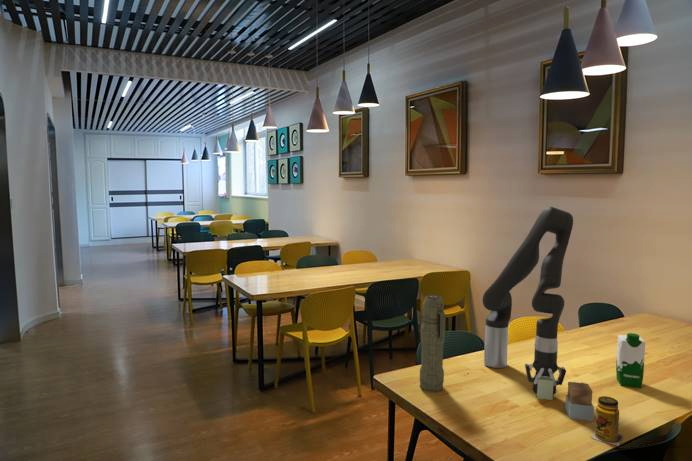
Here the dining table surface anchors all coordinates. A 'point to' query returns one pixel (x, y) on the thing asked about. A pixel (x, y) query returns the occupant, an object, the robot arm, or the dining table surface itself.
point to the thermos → (432, 344)
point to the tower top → (579, 393)
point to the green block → (545, 388)
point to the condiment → (607, 421)
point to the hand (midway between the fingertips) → (544, 393)
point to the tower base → (579, 411)
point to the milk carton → (630, 360)
